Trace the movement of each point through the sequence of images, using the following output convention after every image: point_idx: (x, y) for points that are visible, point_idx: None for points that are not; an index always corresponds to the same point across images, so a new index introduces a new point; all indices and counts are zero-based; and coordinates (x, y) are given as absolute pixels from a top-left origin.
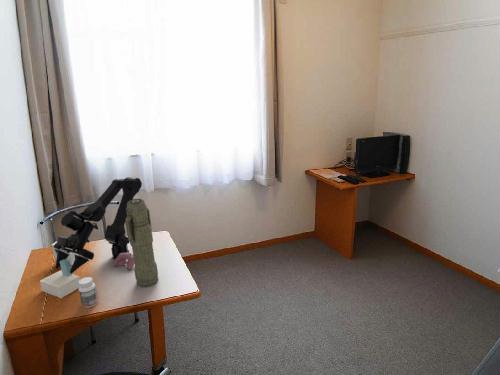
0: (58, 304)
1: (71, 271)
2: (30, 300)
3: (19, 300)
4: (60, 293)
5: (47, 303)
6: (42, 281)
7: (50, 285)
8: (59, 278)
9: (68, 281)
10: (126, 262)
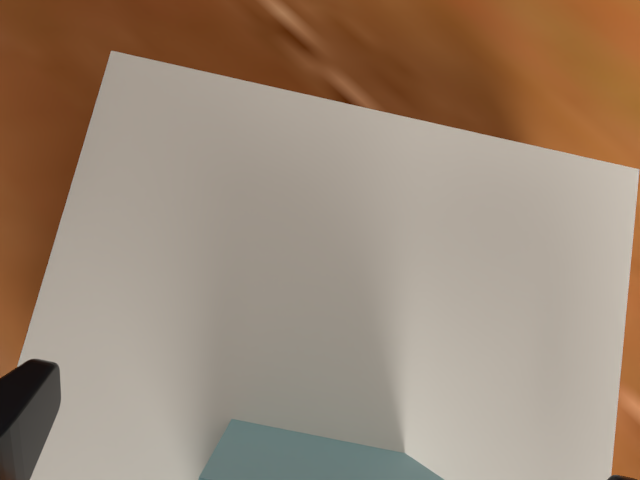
0: (83, 18)
1: (3, 391)
2: (507, 27)
3: (635, 6)
4: None
5: (244, 13)
6: (572, 162)
7: (341, 109)
8: (346, 313)
9: (74, 257)
10: None
